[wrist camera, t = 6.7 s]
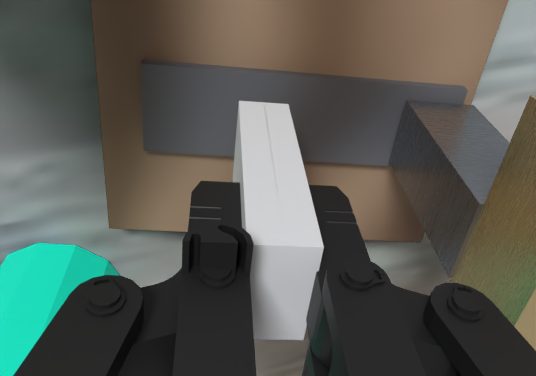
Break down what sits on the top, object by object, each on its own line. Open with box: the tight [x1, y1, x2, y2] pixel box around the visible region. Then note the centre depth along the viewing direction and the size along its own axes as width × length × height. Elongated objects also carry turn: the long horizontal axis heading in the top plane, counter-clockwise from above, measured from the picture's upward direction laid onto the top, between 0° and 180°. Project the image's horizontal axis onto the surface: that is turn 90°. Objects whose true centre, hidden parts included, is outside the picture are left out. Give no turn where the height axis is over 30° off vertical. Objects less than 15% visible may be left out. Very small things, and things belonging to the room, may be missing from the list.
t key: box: [389, 95, 536, 351], centre depth 14 cm, size 2×8×9 cm, turn 174°
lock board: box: [90, 0, 508, 242], centre depth 18 cm, size 13×11×2 cm
